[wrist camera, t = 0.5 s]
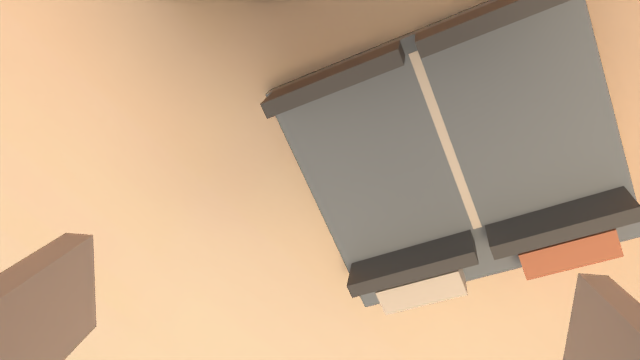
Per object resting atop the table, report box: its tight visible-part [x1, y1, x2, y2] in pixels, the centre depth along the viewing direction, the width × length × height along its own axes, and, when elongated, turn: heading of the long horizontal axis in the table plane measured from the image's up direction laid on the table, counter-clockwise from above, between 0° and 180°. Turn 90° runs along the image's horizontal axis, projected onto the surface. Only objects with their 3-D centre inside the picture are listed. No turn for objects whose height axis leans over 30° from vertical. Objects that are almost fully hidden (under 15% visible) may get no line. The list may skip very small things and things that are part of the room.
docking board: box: [260, 0, 640, 315], centre depth 36 cm, size 20×18×4 cm
